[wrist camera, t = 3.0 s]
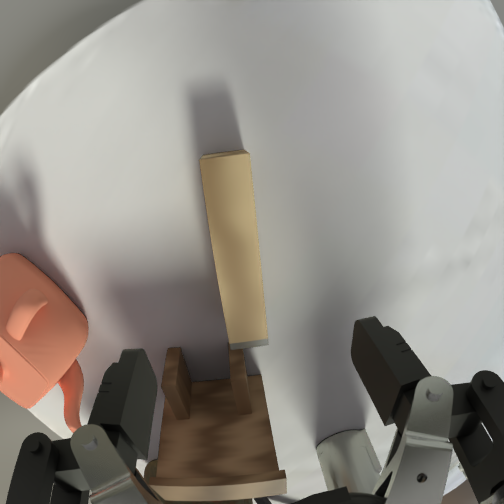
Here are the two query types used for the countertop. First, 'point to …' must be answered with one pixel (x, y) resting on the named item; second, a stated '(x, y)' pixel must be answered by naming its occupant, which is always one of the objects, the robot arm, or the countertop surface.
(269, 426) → the slotted wooden stand
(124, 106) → the countertop surface
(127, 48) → the countertop surface
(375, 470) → the robot arm
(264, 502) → the gun
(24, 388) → the pot
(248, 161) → the rail
